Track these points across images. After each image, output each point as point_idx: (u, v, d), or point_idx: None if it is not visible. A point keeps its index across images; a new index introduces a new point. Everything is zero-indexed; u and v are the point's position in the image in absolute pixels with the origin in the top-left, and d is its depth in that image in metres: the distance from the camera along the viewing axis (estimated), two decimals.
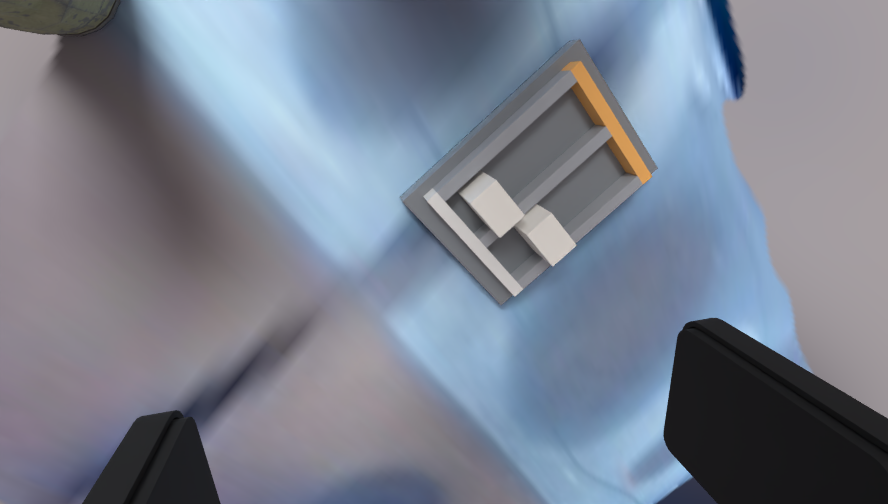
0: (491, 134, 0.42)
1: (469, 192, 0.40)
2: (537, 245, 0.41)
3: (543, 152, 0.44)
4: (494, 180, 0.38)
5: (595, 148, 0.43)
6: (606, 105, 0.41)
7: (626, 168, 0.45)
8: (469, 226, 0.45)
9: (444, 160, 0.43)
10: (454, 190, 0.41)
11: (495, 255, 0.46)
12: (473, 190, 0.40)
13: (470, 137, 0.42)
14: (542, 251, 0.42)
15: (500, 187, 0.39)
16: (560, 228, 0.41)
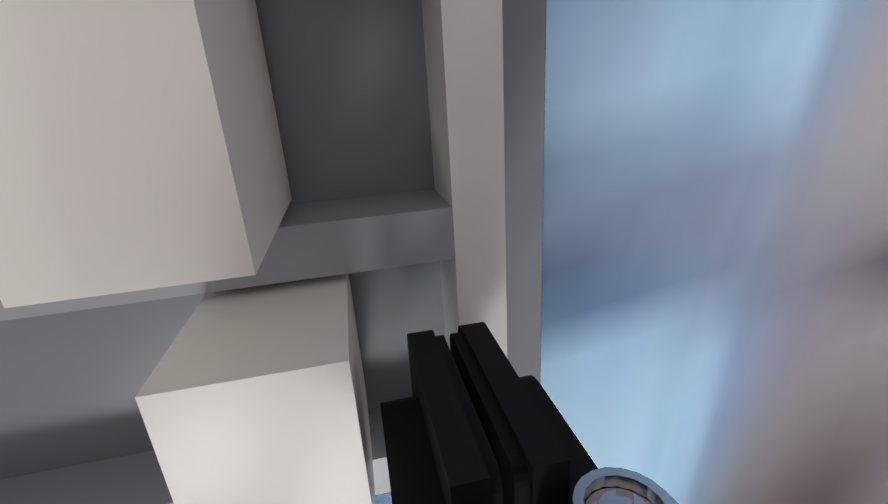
0: None
1: None
2: (216, 162, 0.06)
3: (13, 343, 0.11)
4: None
5: None
6: None
7: None
8: (433, 264, 0.12)
9: None
10: None
11: (420, 93, 0.11)
12: None
13: None
14: (199, 90, 0.05)
15: None
16: None
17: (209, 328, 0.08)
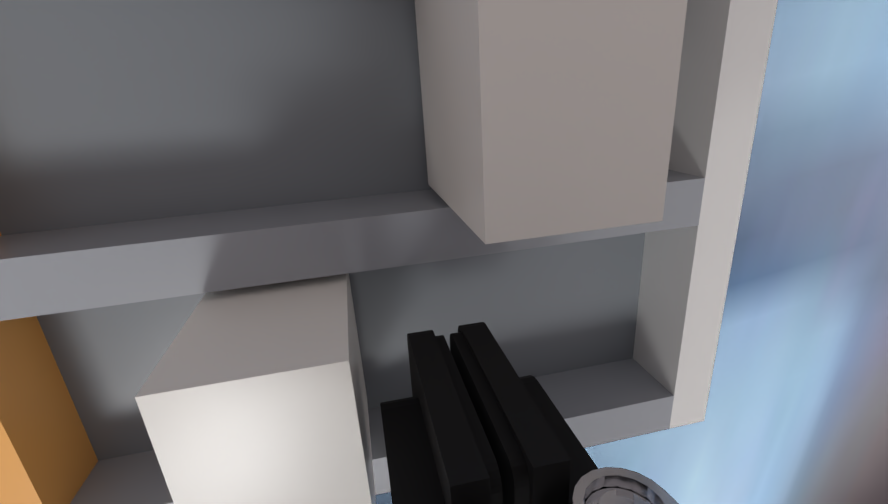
0: None
1: None
2: (664, 122, 0.07)
3: None
4: None
5: (49, 262, 0.08)
6: None
7: None
8: (640, 235, 0.13)
9: None
10: (632, 409, 0.13)
11: None
12: None
13: None
14: (671, 61, 0.06)
15: None
16: (497, 117, 0.06)
17: (209, 328, 0.08)
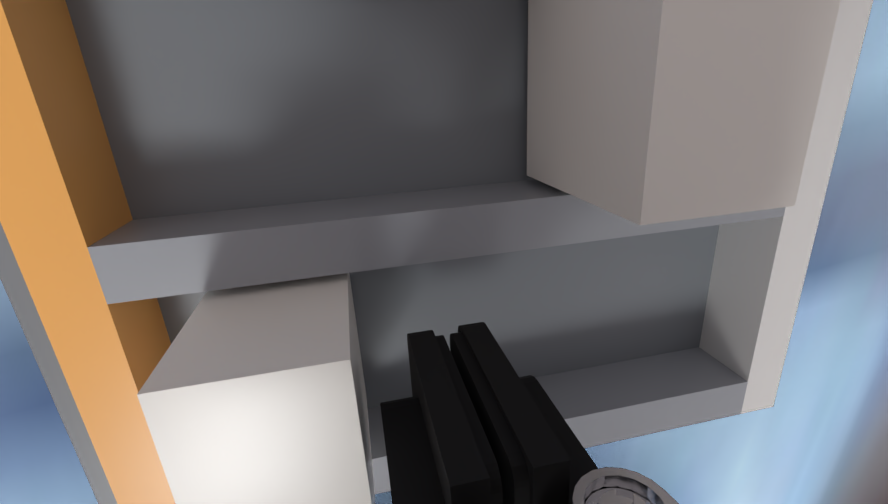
0: None
1: None
2: (807, 113, 0.07)
3: (387, 288, 0.12)
4: None
5: (199, 243, 0.09)
6: (74, 379, 0.09)
7: None
8: (714, 227, 0.14)
9: None
10: (708, 394, 0.13)
11: None
12: None
13: None
14: (819, 56, 0.07)
15: None
16: (665, 106, 0.07)
17: (210, 326, 0.08)
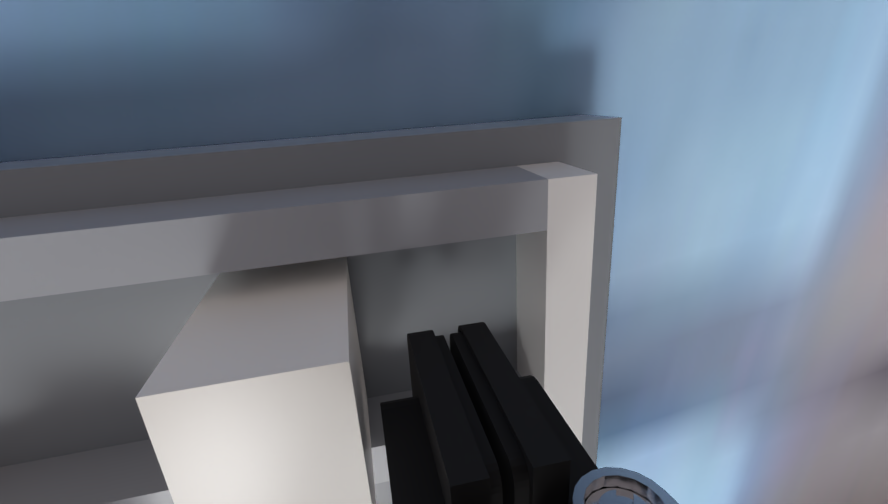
0: None
1: None
2: (362, 500, 0.08)
3: None
4: None
5: None
6: None
7: None
8: None
9: None
10: None
11: (510, 304, 0.13)
12: None
13: None
14: (355, 463, 0.08)
15: None
16: None
17: None
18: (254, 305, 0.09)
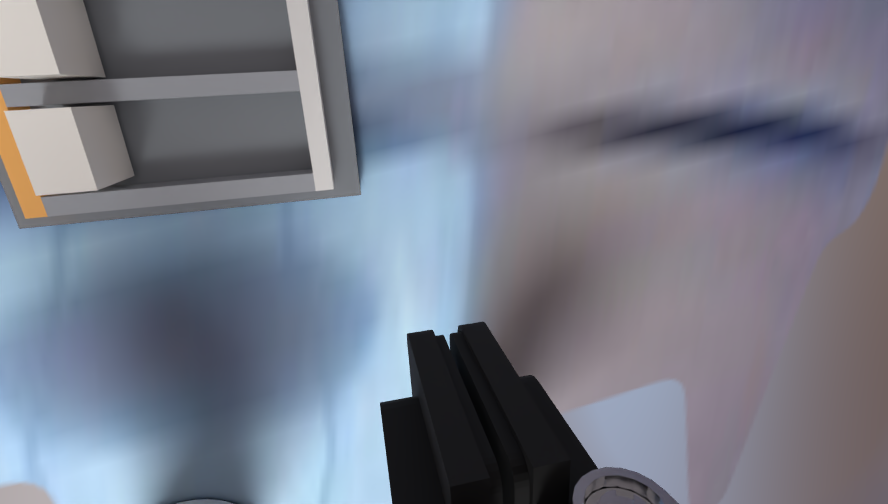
0: None
1: None
2: (45, 40, 0.22)
3: (138, 123, 0.28)
4: (40, 194, 0.24)
5: (39, 85, 0.25)
6: None
7: None
8: (302, 104, 0.30)
9: None
10: (292, 178, 0.30)
11: (290, 32, 0.29)
12: None
13: None
14: (38, 21, 0.22)
15: (33, 181, 0.24)
16: None
17: None
18: None
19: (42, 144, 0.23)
